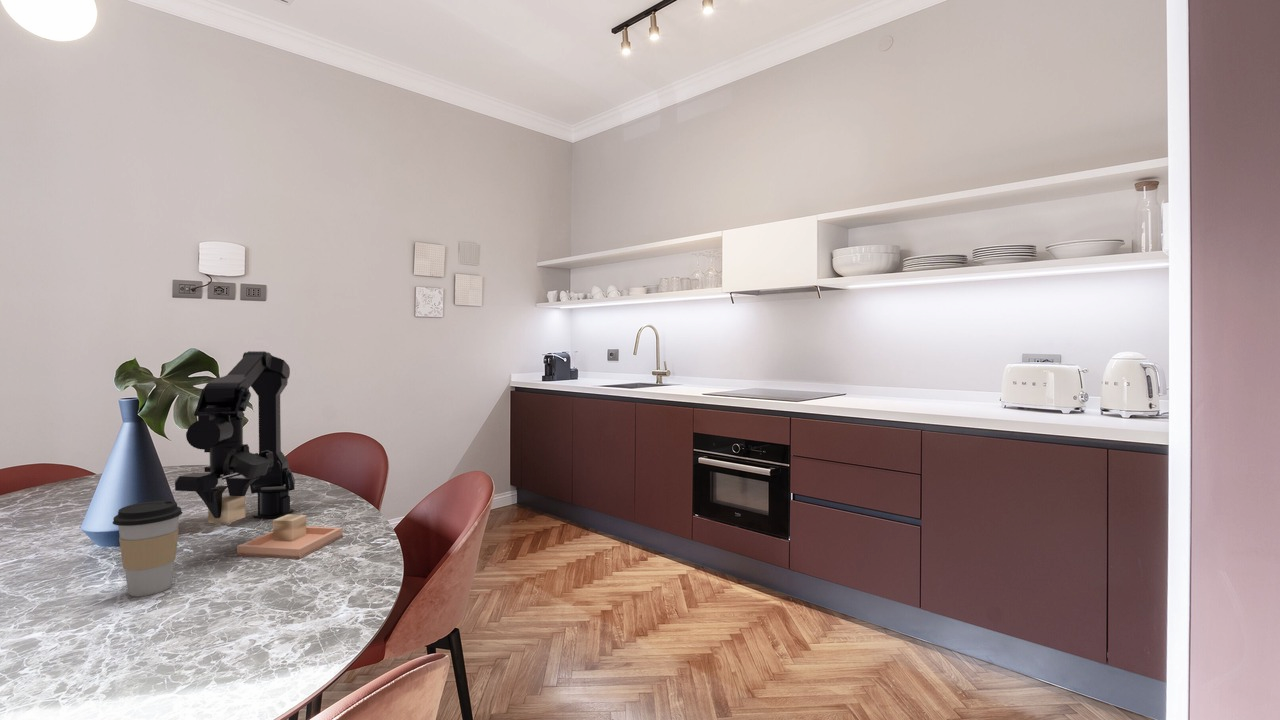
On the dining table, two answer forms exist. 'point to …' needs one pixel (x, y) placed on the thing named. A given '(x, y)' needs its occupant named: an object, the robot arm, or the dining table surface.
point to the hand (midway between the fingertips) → (227, 514)
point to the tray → (290, 544)
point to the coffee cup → (148, 545)
